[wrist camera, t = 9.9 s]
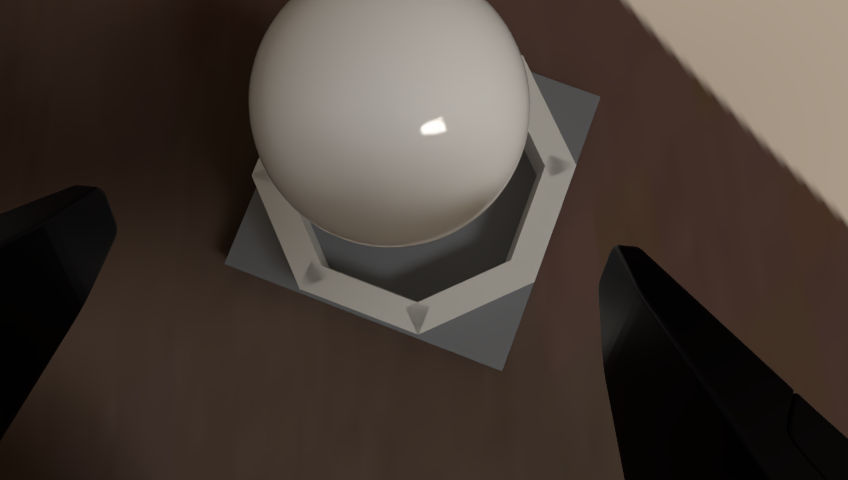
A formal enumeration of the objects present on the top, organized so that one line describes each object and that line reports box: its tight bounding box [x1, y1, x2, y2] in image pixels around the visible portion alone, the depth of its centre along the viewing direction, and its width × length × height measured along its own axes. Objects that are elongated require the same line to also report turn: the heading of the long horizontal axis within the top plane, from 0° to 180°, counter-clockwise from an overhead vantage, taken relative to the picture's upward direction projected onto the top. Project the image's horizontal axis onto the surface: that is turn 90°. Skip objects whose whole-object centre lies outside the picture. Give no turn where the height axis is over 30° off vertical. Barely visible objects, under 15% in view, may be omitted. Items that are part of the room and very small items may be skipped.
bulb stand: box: [225, 56, 600, 371], centre depth 20 cm, size 11×11×2 cm
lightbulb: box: [248, 0, 530, 248], centre depth 15 cm, size 6×6×11 cm
